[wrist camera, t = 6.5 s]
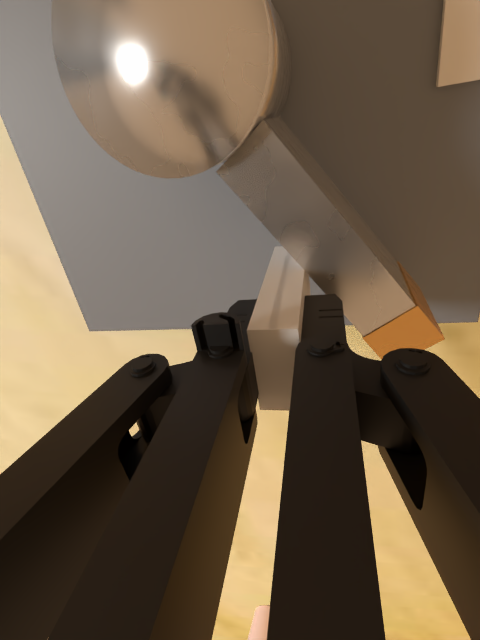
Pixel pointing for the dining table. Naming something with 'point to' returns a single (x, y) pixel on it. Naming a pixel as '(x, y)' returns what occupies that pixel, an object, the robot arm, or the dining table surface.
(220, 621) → the dining table surface
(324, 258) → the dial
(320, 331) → the robot arm
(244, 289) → the grey base plate
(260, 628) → the smoothie
